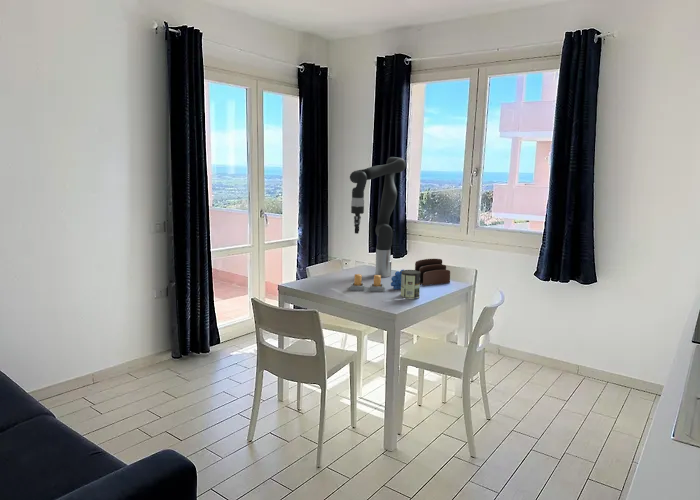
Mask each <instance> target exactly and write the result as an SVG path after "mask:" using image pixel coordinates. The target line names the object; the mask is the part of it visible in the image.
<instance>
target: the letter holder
mask: <svg viewBox="0 0 700 500" xmlns="http://www.w3.org/2000/svg"><path fill="white" fill-rule="evenodd" d="M414 264H415V265H414V270H417V271H420V272H421V273H420V285H421V284H422V285H421V286H431V285H430V284H432V285H441V283H442V284H449V283H450V282H451V271H450V270H449V269H447V266H446V264H443V259H441V258H426V259H425V258H424V259H420V260H416V261H415V263H414Z"/></svg>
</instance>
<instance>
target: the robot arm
mask: <svg viewBox="0 0 700 500" xmlns="http://www.w3.org/2000/svg"><path fill="white" fill-rule="evenodd" d="M406 163H407V162H406V160H405V159H404V158H402V157H395V156H390V157H388V158H387V160H386V164H380V165H373V166H370V167H368V168H363V169H359V170H358V169H357V170H353V171H352V172H351V173H350V174H349V175H350V176H349V180H350V182H352V183H354V184H356V186H355V187H353V188H352V190H351V203H350V206H351V207H350V208H351V209H350V212H351V214H354V216H353V226H354V234H356V235H357V234H359V232H360V226H361V218H362V217H361V215H362V214H364V212H365V190H366V185H367V181H369V180H373V179H376V178H379V177H382V176H383V177H384V182H383V189H382V194H381V201H380V206H379V215H378V220H377V223H376V225H375V226H376V227H375V235H376V236H377V237H378V239H377V244H376V247H375V270H374V271H375V274H374V275H381V278H387V277H390V276H391V277H392V261H391V251H392V250H391V249H392V245H393V233H394V232H393V228H392V227H391V226H390V218H391V216H392V213H393V210H394V209H395V207H396V203H397V197H398V190H397V186H396V184H395V175H396V173H399V174H400V173H403V171H405V169H406V167H407V164H406Z"/></svg>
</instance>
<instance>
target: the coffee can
mask: <svg viewBox="0 0 700 500" xmlns="http://www.w3.org/2000/svg"><path fill="white" fill-rule="evenodd" d="M402 270H403V271H401V270H400V271H401V273H402V275H401V289H400V296H401V297H402V298H403V299H404V298H406V300H415V299H414V298H418V299H419V298H420V287H421V286H420V285H421V284H420V273H421V272H420V271H417V270H415V269H402Z"/></svg>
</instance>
